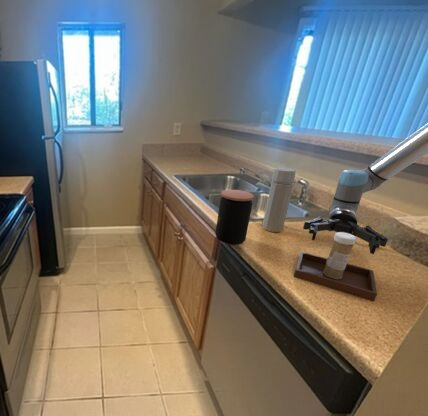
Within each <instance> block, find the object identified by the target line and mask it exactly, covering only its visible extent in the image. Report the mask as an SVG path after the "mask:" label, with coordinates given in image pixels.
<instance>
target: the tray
mask: <svg viewBox="0 0 428 416" xmlns="http://www.w3.org/2000/svg"><path fill="white" fill-rule="evenodd" d="M327 259H328V257H323V256H319V255H316V254H312V253H308V252H305V251H300V252H299V256H298V259H297V263H296V267H295V270H294V274H293V278H297V279H300V280H303V281H306V282H310V283H314V284H317V285H320V286H323V287H326V288H329V289H333V290H336V291H339V292H341V293H345V294H348V295H352V296H355V297H358V298H362V299H365V300H368V301H371V302H375V300H376V298H377V295H378V289H377V285H376V279H375V273H374V270H373V269H369V268H366V267H362V266H357V265H354V264H350V263H347V265H346V268H345V269H344V272H343V275H342V279H332V278H329V277H327V276H325V275H324V273H323V271H324V269H325V266H326V262H327Z"/></svg>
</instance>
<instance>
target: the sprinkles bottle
mask: <svg viewBox="0 0 428 416" xmlns="http://www.w3.org/2000/svg"><path fill="white" fill-rule="evenodd" d="M356 241H357V236H354V235H351V234H348V233H344V232H335V233H334V236H333V242H332V245H331V249H330V251H329V254H328V256H327V262H326V266H325V269H324V271H323V273H324V275H325V276H327V277H329V278H332V279H342V275H343V272H344V269H345V268H346V265H347V264H348V262H349V259H350V257H351V253H352V251H353V247H354V245H355V244H356V243H357V242H356Z"/></svg>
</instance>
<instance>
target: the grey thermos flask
mask: <svg viewBox="0 0 428 416" xmlns="http://www.w3.org/2000/svg"><path fill="white" fill-rule="evenodd" d="M296 172H297V171H296V169H295V168H290V167H281V166H279V167H275V168H274V171H273V173H272V177H271V179H270V182H271V183H270V187H269V193H268V197H267V201H266V207H265V212H264V216H263V219H262V220H263V221H262V228H263V229H264V230H265V231H267V232H271V233H280V232H281V231H283V230H284V226H285V223H286V222H285V221H286V218H287V217H286V216H287V213H288V209H289V206H290V202H291V201H290V200H291V197H292V193H293V189H294V185H296V182H295V179H296Z"/></svg>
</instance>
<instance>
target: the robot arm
mask: <svg viewBox="0 0 428 416" xmlns="http://www.w3.org/2000/svg"><path fill="white" fill-rule="evenodd" d="M427 155H428V122H427V123H425V124H424V125H423V126H421V127H420V128H419V129H417V130H416V131H414V132H413V133H412V134H410V135H409V136H408V137H406V138H405V139H404V140H402V141H401V142H399V143H398V144H397V145H396V146H394V147H393V148H391V149H390V150H388V151H387V152H385V153H384V154H383V155H381V156H380V157H379V158H377V159H376V160H375V161H373V162H372V163H371V164H369V165H368V166H366V167H365V168H364V169H362V170H361V169H360V170H358V169H344V170H342V172H341V173H340V176H339V178H338V181H337V185H336V189H335V191H334V195H333V198H332V201H331V204H330V206H329V209H328V211H329V215H328V219H327V220H326V219H324V217H322V216H318V217H317V218H313V219H310V220H307V221H304V224H303V227H302V229H303V230H309V231H308V234H310V235H312V236H311V240H312V241H316V237H317V234H318V232H322V231H323V232H324V231H327V232H335V233H337V232H344V233H348V234H351V235H354V236H355V237H356V238H359V239H361V240H363V241H364V242H367V243H368V249H369V254H371V255H374V254H375V252H376V250H377V249H379V248H380V247H383V248H385V247H386V245H387V243H388V241H389V238H387V237H386V236H384V235H383V234H381V233H379V232H378V231H377V230H375V229H373V228H372V226H370V225H366V226H360V225H359V224H358V218H357V212H358V209H359V205H360V202H361V199H362V197H363V194H364V193H367V192H370V191H374V190H376V189H378V188H379V187H380V186H381V185H383V184H384V183H385V182H386V181H388V180H389V179H391V178H392V177H394V176H395V175H397V174H398V173H400V172H401V171H403V170H404V169H406V168H407V167H409V166H411V165H412V164H414V163H415V162H417V161H418V160H421V158H423V157H425V156H427Z"/></svg>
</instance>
